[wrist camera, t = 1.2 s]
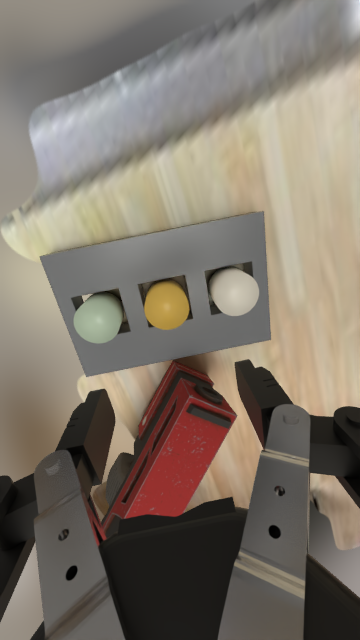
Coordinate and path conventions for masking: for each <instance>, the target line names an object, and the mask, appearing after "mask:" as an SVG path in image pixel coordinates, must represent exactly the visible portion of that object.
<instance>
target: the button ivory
mask: <svg viewBox="0 0 360 640" xmlns="http://www.w3.org/2000/svg"><path fill="white" fill-rule="evenodd" d="M208 289H209V294H210V296H211V298H212V299H213V301H214V302H215V304H216V305H217V307H218V308H219V310H220V311H222V312H223V313H224V314H226V315H230V316H240V315H243V314H245V313H247V312H249V311H250V310H251V309H252V308H253V307H254V306H255V304H256V302H257V300H258V297H259V287H258V284H257V282H256V281H255V279H254V278H253V277H251V276H250V275H248V274H247V273H245V272H243V271H242V270H240V269H238V268H236V267H223V268H221V269H219V270H218V271H216V272H215V273H214V274H213V275H212V277H211V279H210V281H209V286H208Z"/></svg>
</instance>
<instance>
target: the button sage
mask: <svg viewBox="0 0 360 640" xmlns="http://www.w3.org/2000/svg"><path fill="white" fill-rule="evenodd" d="M123 318H124V307H123V305H122V303H121V301H120V300H119V299H118V298H117V297H116V296H114V295H112V294H110V293H106V292H99V293H95V294H93V295H91V296H90V297H89V298H88V299H87V300H86V301H85V302H84V303H83V304H82V305H81V306H80V307H79V308H78V310H77V311H76V313H75V315H74V327H75V329H76V331H77V333H78V334H79V335H80V336H81V337H82V338H83V339H85V340H86V341H89V342H92V343H106V342H108V341H110V340H112V339H113V338H114V337H115V336H116V335H117V333H118V331H119V328H120V326H121V323H122V320H123Z"/></svg>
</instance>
